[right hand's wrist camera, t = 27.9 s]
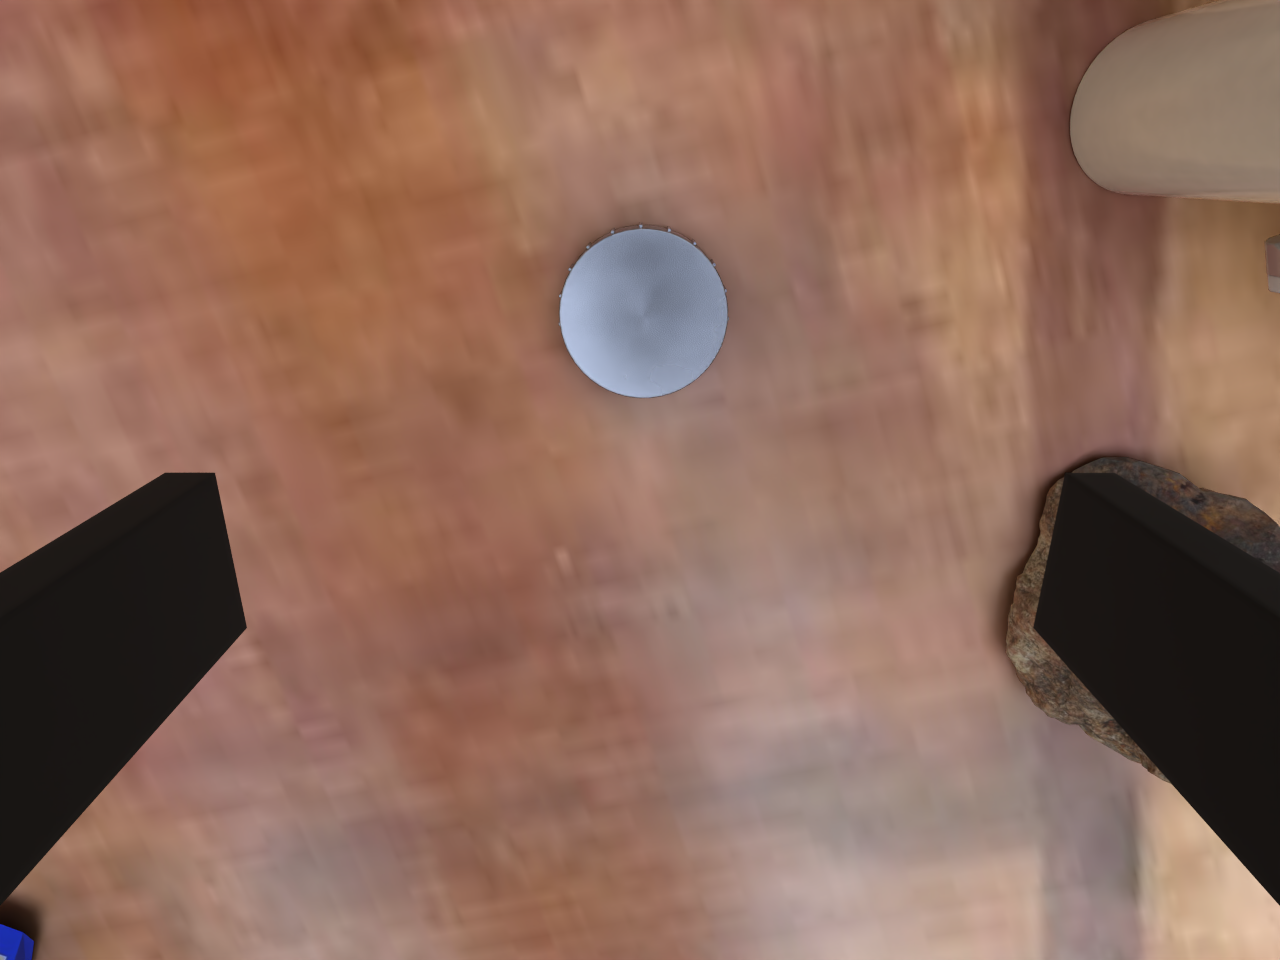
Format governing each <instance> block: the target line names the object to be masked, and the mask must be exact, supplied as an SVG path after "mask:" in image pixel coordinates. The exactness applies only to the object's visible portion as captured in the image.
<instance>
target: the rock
mask: <svg viewBox="0 0 1280 960" xmlns="http://www.w3.org/2000/svg"><path fill="white" fill-rule="evenodd" d="M1072 473H1116V474H1118V475H1119V476H1121V477H1123V478H1124V479H1126V480H1127V481H1129V482H1131V483H1132V484H1134V485H1136V486H1137V487H1139V488H1141V489H1142V490H1144V491H1146V492H1147V493H1149V494H1151V495H1152V496H1154V497H1156V498H1157V499H1159V500H1160V501H1162V502H1164V503H1165V504H1167V505H1169V506H1170V507H1172V508H1174V509H1175V510H1177V511H1179V512H1180V513H1182V514H1184V515H1185V516H1187V517H1189V518H1190V519H1192V520H1193V521H1195V522H1197V523H1198V524H1200V525H1202V526H1203V527H1205V528H1207V529H1208V530H1210V531H1212V532H1213V533H1215V534H1217V535H1218V536H1220V537H1221V538H1223V539H1225V540H1226V541H1228V542H1230V543H1231V544H1233V545H1235V546H1236V547H1238V548H1240V549H1241V550H1243V551H1245V552H1246V553H1248V554H1250V555H1251V556H1253V557H1254V558H1256V559H1258V560H1259V561H1261V562H1263V563H1264V564H1266V565H1268V566H1269V567H1271V568H1273V569H1274V570H1276V571H1278V572H1279V573H1280V527H1279V526H1278V524H1277V523H1276V522H1275V521H1274V520H1272V519H1271V518H1270V517H1269V516H1268V515H1267V514H1266V513H1265V512H1263V511H1262V510H1260V509H1259V508H1257V507H1256V506H1254V505H1253V504H1251V503H1250V502H1249V501H1248V500H1246V499H1244V498H1240V497H1236V496H1232V495H1227V494H1221V493H1217V492H1214V491H1211V490H1208V489H1204V488H1198V487H1196V486H1195V485H1194V484H1192V483H1191V482H1190V481H1188V480H1187V479H1186V478H1185V477H1183V476H1182V475H1181V474H1179V473H1176V472H1173V471H1170V470H1167V469H1164V468H1161V467H1158V466H1155V465H1152V464H1149V463H1146V462H1142V461H1139V460H1135V459H1131V458H1128V457H1102V458H1100V459H1097V460H1095V461H1093V462H1090V463H1088V464H1086V465H1084V466H1082V467H1080V468H1078V469H1076V470H1074V471H1073V472H1072ZM1063 481H1064V477H1063V478H1061V479H1060V480H1058V481H1057V482H1056V483H1055V484H1054V485H1053V486H1052V487H1051V488H1050V490H1049V492H1048V494H1047V496H1046V503H1045V507H1044V511H1043V514H1042V517H1041V519H1040V522H1039V528H1040V530H1041V532H1040V536H1039V538H1038V544H1037V546H1036V548H1035V550H1034V551H1033V553H1032V555H1031V556H1030V558H1029V560H1028V561H1027V563H1026V566H1025V568H1024V571H1023V573H1022V574H1021V575H1019V576H1017V580H1016V589H1015V592H1014V599H1013V604H1012V605H1011V609H1010V612H1009V615H1008V631H1007V635H1006V643H1007V647H1006V654H1007V655H1008V657H1009V658H1010V659H1011V662H1012V663H1013V665H1014V666H1015V668H1016V673H1017V676H1018V678H1019V680H1020V681H1021V682H1022V684H1023V685H1024V686H1025V687H1026V693H1027V694H1028V695H1029V697H1030V698H1031V699H1032V701H1033V703H1034V705H1036V706H1037V707H1039V708H1040V709H1041V710H1043V711H1044V712H1045V713H1046V714H1047V716H1049V717H1052V718H1056V719H1057V720H1059V721H1061V722H1063V723H1066V724H1069V725H1071V724H1078V725H1079V726H1080V727H1081V728H1082V729H1083V730H1084V731H1085V733H1086V734H1088V735H1089V736H1090V737H1091V738H1093V739H1095V740H1097V741H1099V742H1101V743H1103V744H1104V745H1106V746H1108V747H1109V748H1111V749H1113V750H1114V751H1116V752H1118V753H1120V754H1121V755H1123V756H1124V757H1126V758H1127V759H1129V760H1132V761H1134V762H1137V763H1141V764H1142V766H1143V767H1145V768H1146V769H1147V770H1148V771H1149V772H1150V773H1152V774H1153V775H1155V776H1157V777H1158V778H1160V779H1162V780H1164V781H1166V782H1168V783H1171V782H1170V781H1169V780H1168V779H1167V778H1166V777H1165V776H1164V775H1163V773H1162V772H1161V771H1160V770H1159V769H1158V768H1157V767H1156V766H1155V764H1154V763H1153V762H1152V761H1151V760H1150V759H1149V758H1148V757H1147V755H1146V754H1145V753H1144V752H1143V751H1142V750H1141V749H1140V748H1139V746H1138V745H1137V744H1136V743H1135V742H1134V741H1133V740H1132V739H1131V737H1130V736H1129V735H1128V734H1127V733H1126V732H1125V731H1124V730H1123V728H1122V727H1121V726H1120V725H1119V724H1118V723H1117V722H1116V721H1115V719H1114V718H1113V717H1112V716H1111V715H1110V714H1109V713H1108V712H1107V710H1106V709H1105V708H1104V707H1103V706H1102V705H1101V704H1100V702H1099V701H1098V700H1097V699H1096V698H1095V697H1094V696H1093V695H1092V693H1091V692H1090V691H1089V690H1088V689H1087V688H1086V687H1085V686H1084V684H1083V683H1082V682H1081V681H1080V680H1079V679H1078V678H1077V677H1076V675H1075V674H1074V673H1073V672H1072V671H1071V670H1070V669H1069V668H1068V666H1067V665H1066V664H1065V663H1064V662H1063V661H1062V660H1061V659H1060V657H1059V656H1058V655H1057V654H1056V653H1055V652H1054V651H1053V650H1052V648H1051V647H1050V646H1049V645H1048V644H1047V643H1046V642H1045V641H1044V639H1043V638H1042V637H1041V636H1040V635H1039V634H1038V633H1037V632H1036V630H1035V629H1034V628H1033V626H1034V621H1035V617H1036V612H1037V607H1038V602H1039V597H1040V592H1041V587H1042V583H1043V578H1044V573H1045V568H1046V563H1047V558H1048V554H1049V549H1050V544H1051V539H1052V534H1053V529H1054V524H1055V520H1056V515H1057V510H1058V505H1059V500H1060V495H1061V490H1062V486H1063Z"/></svg>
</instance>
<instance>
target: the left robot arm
mask: <svg viewBox="0 0 1280 960" xmlns="http://www.w3.org/2000/svg"><path fill="white" fill-rule="evenodd" d="M1265 253H1266V268H1267V274H1268V288H1269V290H1270V291H1271V292H1276V293H1280V234H1279V235H1276V236H1273V237H1271V238H1269V239H1268V240H1266V241H1265Z"/></svg>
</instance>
